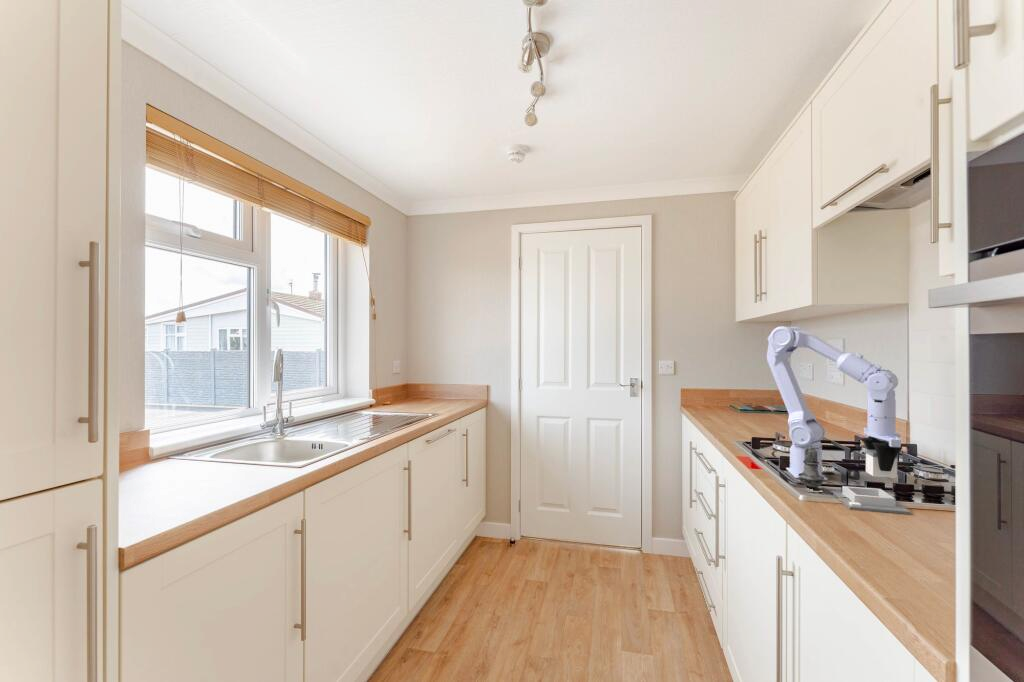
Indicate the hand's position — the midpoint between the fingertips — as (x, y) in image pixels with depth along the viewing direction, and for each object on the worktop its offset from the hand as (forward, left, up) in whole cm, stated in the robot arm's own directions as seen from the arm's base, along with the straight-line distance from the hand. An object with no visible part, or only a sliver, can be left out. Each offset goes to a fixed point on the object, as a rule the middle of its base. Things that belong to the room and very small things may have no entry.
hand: (880, 468), depth 118 cm
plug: (0, 0, -2) cm, 2 cm away
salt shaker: (+3, -17, -6) cm, 18 cm away
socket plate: (+10, -7, -6) cm, 14 cm away
